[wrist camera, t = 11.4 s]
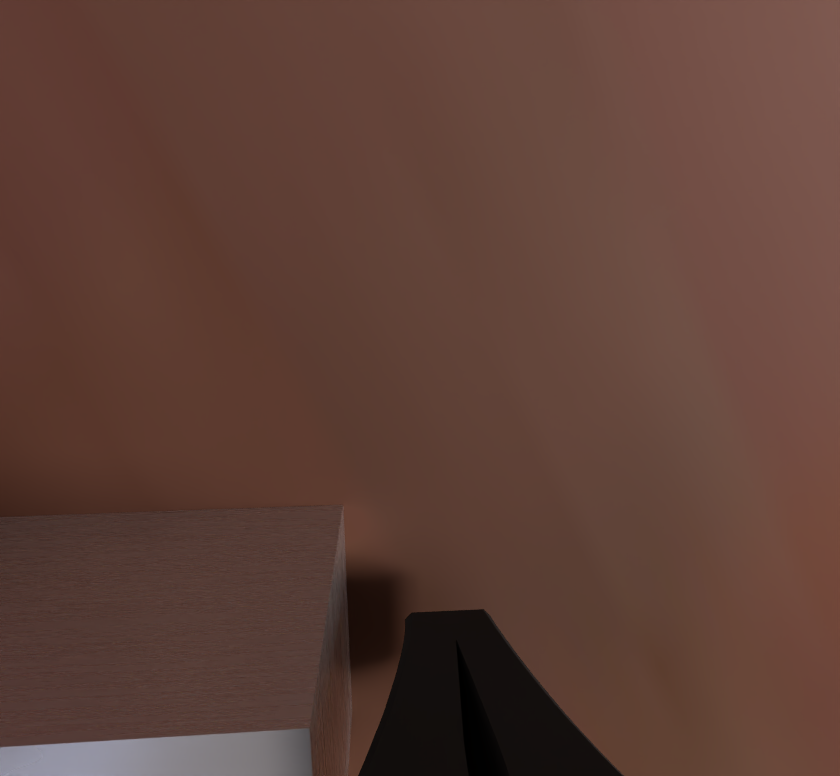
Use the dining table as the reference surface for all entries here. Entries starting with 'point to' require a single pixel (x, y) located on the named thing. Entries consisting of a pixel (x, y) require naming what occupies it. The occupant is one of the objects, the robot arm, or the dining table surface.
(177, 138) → the dining table surface
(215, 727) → the block
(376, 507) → the dining table surface
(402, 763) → the robot arm
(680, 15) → the dining table surface
